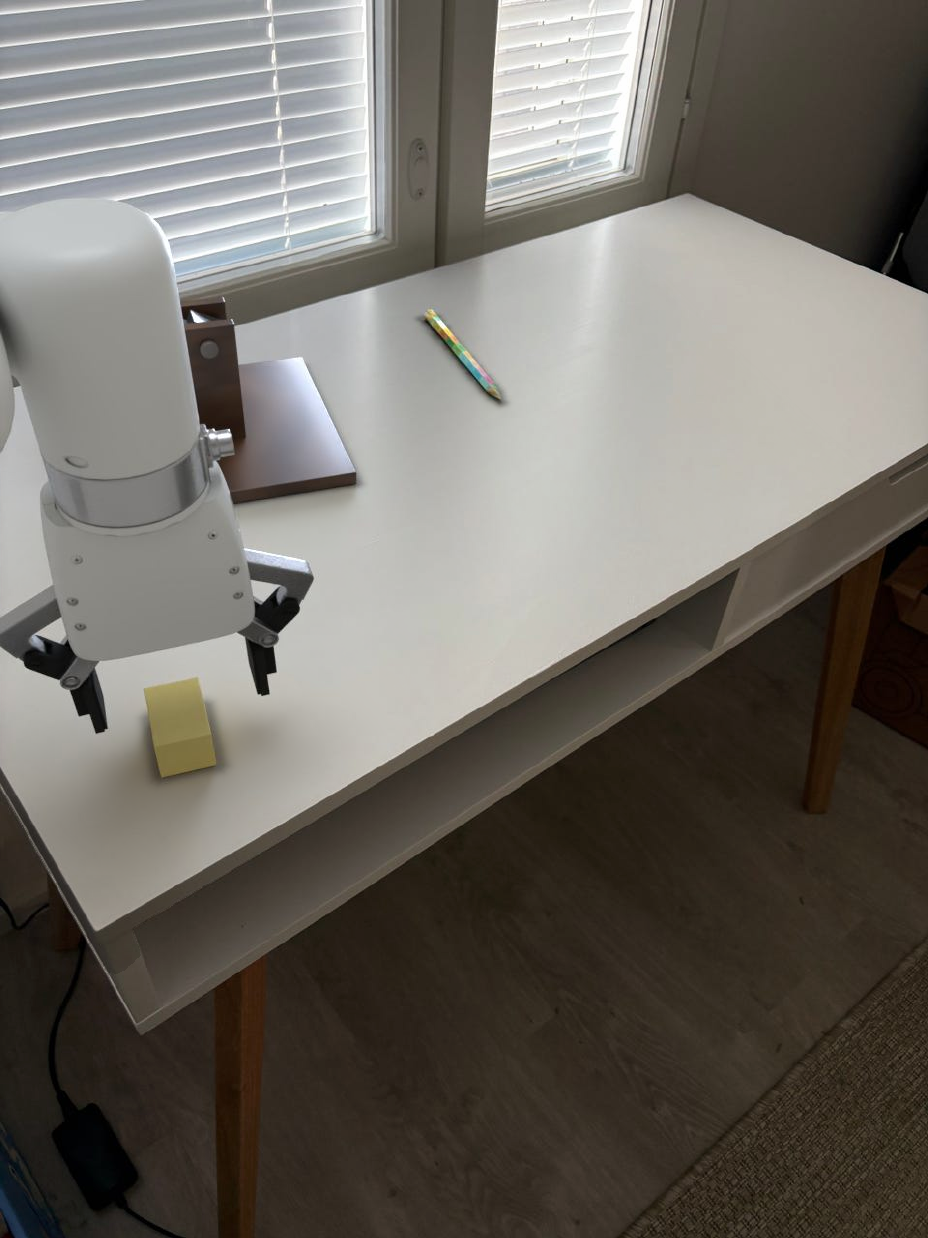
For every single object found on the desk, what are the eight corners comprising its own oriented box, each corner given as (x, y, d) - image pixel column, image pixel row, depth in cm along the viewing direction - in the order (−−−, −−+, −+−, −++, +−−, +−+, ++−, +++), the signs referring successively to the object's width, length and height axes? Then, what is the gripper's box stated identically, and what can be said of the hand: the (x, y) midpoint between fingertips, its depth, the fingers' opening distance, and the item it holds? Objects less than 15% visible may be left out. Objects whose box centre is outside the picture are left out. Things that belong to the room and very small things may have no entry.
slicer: (112, 523, 80) (81, 392, 72) (89, 394, 93) (62, 271, 85) (356, 483, 86) (353, 358, 78) (302, 367, 99) (295, 250, 91)
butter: (216, 765, 63) (211, 734, 61) (161, 778, 62) (153, 747, 60) (203, 708, 67) (198, 676, 65) (150, 719, 66) (143, 688, 64)
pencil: (506, 403, 97) (434, 317, 108) (507, 393, 96) (434, 308, 108) (494, 405, 96) (422, 319, 108) (495, 395, 96) (423, 309, 107)
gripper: (284, 401, 55) (305, 627, 67) (-60, 453, 50) (29, 686, 62) (317, 480, 50) (334, 709, 62) (-62, 545, 45) (35, 779, 57)
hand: (181, 697), depth 62 cm, fingers open, 9 cm apart
